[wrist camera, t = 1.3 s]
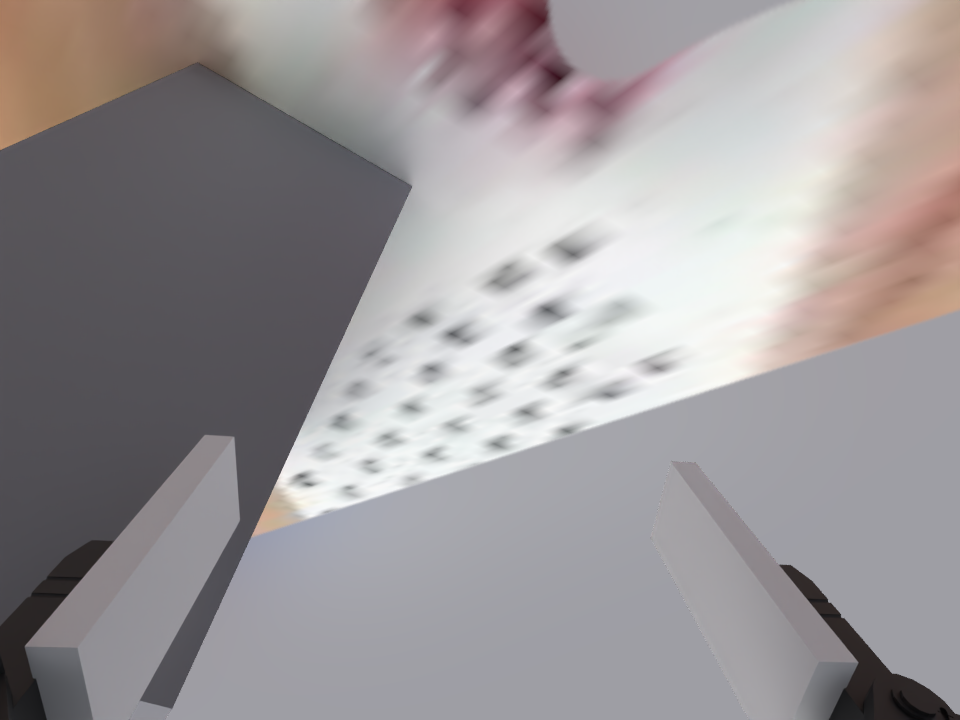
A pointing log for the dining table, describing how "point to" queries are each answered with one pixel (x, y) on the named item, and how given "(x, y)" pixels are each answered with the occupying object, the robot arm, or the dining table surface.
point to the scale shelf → (168, 315)
